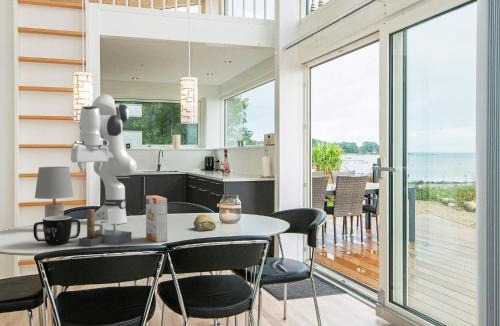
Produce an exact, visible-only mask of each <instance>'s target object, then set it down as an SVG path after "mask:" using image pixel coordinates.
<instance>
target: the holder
mask: <svg viewBox="0 0 500 326" xmlns="http://www.w3.org/2000/svg"><path fill="white" fill-rule="evenodd" d="M101 244H103V243H102V237H96V236H95V239H87V236H85V237H80V238H79V239H78V246H83V247H95V246H98V245H101Z"/></svg>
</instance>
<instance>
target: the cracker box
mask: <svg viewBox="0 0 500 326" xmlns="http://www.w3.org/2000/svg"><path fill="white" fill-rule="evenodd" d="M145 233H146V234H145V237H146V238H147V239H149V240H151V241H153V242H155V243H156V244H157V243H163V242H168V198H167V197H164V196H161V195H146V196H145Z"/></svg>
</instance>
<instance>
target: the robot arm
mask: <svg viewBox="0 0 500 326" xmlns="http://www.w3.org/2000/svg"><path fill="white" fill-rule="evenodd" d="M79 115H80V116H79V130H80V132H79V141H78V140H77V141H76V140H75V141H74V142H73V143H72V148H71V152H70V153H71V154H70V161H71V162H72V163H77V166H78V168H79V172H80V173H84V174H85V173H86V168H85V167H84V165H85V164H84V163H93V171H94V172H95V174H96V175H98V176H99V177H100V179H101V180H102V181H103V185H104V189H105V191H104V192H105V198H104V200H102V206H101V207H100V208H98V209H97V210H96V211H95V221H99V220H105V221H117V225H120V224H121V225H122V224H126V223H128V222H129V221H128V217H127V216H128V215H127V212H126V211H127V210H126V203H127V200H126V199H127V198H126V187H125V185H124V183H122V182H121V181H119V180H118V178H117V177H122V176H123V177H126V176H132V175H134V174H135V173H136V172H137V170H138V165H137V161H136V160H135V158H133V157H131V156H130V155H129V153H128V152H127V150H126V147H125V143H124V132H123V125H124V124H125V123H126V122H128V121H129V118H130V111H129V108H128V106H127V105H125V104H122V103H120V104H117V103H115V100H114V98H113V97H112V96H111V95H110V94H106V93H105V94H101V95H99V96H97V97H96V98H95V100H93V103H92V104H91V105H88V106H82V107H81V110H80V114H79ZM101 136H103V138H102V137H101ZM110 154H112V156H113V157H109V156H110Z"/></svg>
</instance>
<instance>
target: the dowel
mask: <svg viewBox="0 0 500 326" xmlns="http://www.w3.org/2000/svg"><path fill="white" fill-rule="evenodd" d="M95 210H96V209H94V208H88V209H87V210H86V237H87V239H95V231H96V230H95V229H96V228H95V227H96V226H95V212H96V211H95Z"/></svg>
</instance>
